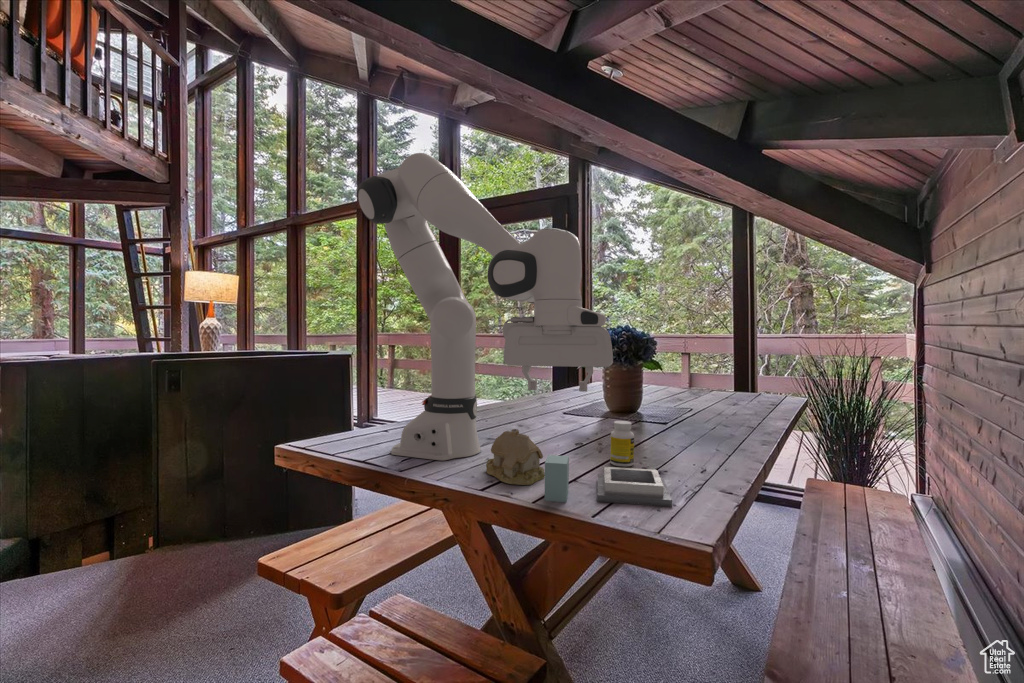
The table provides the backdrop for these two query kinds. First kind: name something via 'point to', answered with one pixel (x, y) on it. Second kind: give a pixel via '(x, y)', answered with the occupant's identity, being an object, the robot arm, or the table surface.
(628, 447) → the supplement bottle
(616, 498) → the collar socket
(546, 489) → the block
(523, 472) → the ceramic model
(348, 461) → the table surface
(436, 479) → the table surface
